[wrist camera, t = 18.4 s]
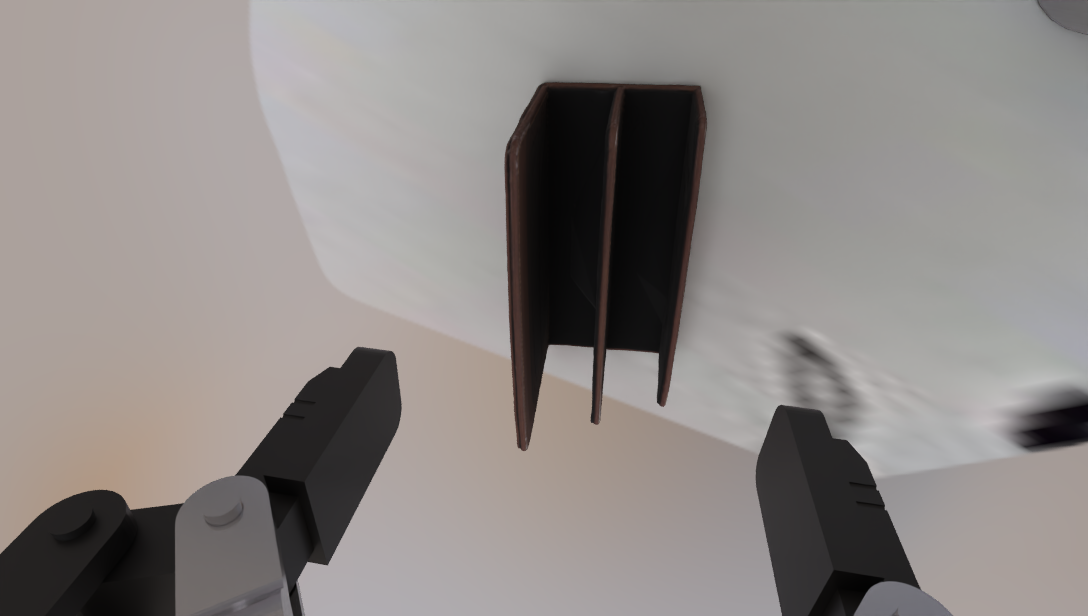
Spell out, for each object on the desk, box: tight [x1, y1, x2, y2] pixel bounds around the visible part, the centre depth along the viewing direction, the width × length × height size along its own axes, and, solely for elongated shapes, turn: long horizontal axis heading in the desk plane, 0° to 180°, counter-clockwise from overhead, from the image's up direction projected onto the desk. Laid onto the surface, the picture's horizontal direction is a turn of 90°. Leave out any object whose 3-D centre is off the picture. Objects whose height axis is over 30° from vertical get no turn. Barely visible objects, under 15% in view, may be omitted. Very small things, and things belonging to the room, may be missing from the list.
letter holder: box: [505, 82, 707, 451], centre depth 34 cm, size 10×20×14 cm, turn 1°
